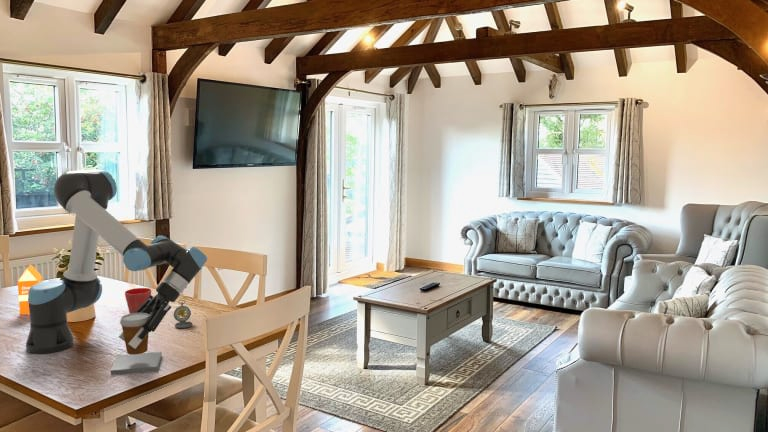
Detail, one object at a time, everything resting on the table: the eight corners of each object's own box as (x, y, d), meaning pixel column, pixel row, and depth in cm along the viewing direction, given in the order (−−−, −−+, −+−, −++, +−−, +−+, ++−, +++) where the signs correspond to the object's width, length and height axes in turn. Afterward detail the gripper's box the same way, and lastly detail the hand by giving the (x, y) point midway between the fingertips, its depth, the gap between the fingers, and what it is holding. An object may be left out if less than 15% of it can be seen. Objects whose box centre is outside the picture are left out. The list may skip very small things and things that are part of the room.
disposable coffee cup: (115, 354, 199) (112, 319, 197) (136, 344, 208) (134, 311, 206) (138, 358, 196) (135, 322, 194) (158, 348, 204) (156, 314, 203)
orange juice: (44, 308, 268) (41, 263, 265) (40, 313, 259) (37, 267, 257) (24, 309, 265) (21, 264, 263) (19, 315, 257) (16, 269, 254)
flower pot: (119, 314, 259) (118, 292, 257) (139, 307, 269) (138, 286, 268) (139, 317, 255) (137, 295, 254) (157, 310, 265) (156, 289, 264)
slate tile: (110, 374, 194) (110, 370, 194) (118, 359, 207) (118, 355, 207) (157, 371, 197) (156, 366, 197) (161, 355, 211) (161, 351, 211)
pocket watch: (182, 330, 239) (181, 305, 238) (168, 326, 243) (167, 302, 242) (198, 324, 246) (198, 300, 245) (184, 321, 250) (184, 297, 249)
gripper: (193, 299, 202) (147, 357, 193) (167, 287, 217) (123, 340, 209) (177, 286, 198) (129, 345, 189) (151, 275, 213) (106, 329, 205)
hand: (126, 342), depth 199 cm, fingers closed on disposable coffee cup, 8 cm apart
